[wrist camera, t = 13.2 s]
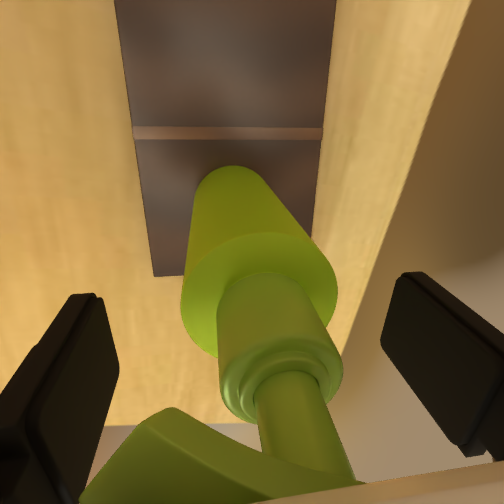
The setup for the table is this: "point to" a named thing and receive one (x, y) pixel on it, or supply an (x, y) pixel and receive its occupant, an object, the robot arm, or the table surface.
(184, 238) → the walnut board
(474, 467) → the robot arm
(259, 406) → the soap dispenser
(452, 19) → the table surface
